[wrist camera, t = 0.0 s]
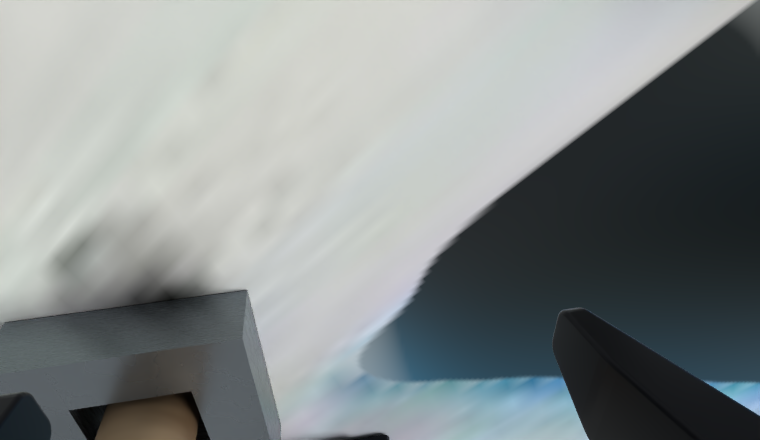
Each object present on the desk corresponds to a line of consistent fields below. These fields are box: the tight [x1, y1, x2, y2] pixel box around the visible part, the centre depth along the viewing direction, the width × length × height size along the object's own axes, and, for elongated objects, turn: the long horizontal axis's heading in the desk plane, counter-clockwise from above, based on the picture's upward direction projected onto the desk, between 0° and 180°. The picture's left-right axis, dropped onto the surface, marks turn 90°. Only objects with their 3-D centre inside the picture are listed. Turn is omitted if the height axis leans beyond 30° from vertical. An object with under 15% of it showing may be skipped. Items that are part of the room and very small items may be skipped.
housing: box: [0, 290, 281, 440], centre depth 27 cm, size 12×12×4 cm
